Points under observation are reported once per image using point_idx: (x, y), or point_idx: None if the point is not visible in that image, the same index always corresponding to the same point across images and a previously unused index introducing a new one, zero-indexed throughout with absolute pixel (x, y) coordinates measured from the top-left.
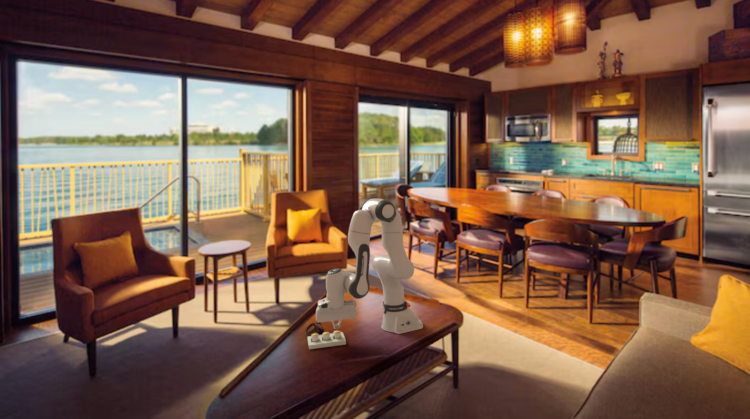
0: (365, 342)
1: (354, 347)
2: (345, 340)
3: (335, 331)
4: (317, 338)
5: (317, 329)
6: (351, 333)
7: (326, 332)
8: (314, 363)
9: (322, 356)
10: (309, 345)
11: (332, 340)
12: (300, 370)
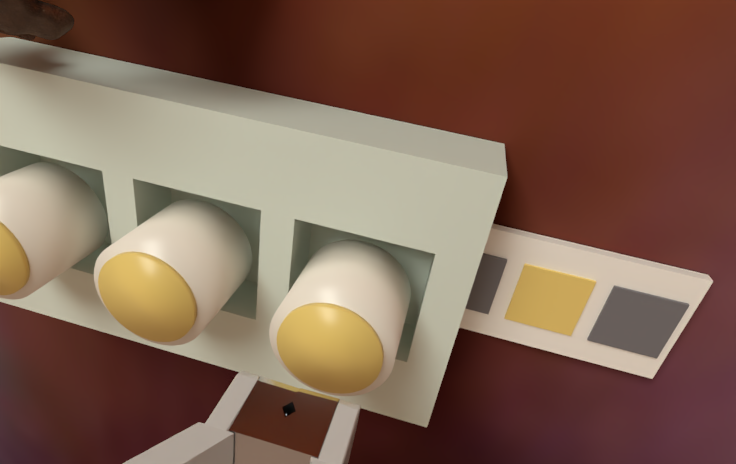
0: (697, 419)
1: (505, 433)
2: (422, 425)
3: (305, 330)
4: (57, 274)
5: (1, 7)
6: (733, 61)
7: (152, 284)
8: (112, 443)
9: (173, 400)
10: (6, 301)
11: (266, 344)
12: (30, 457)
